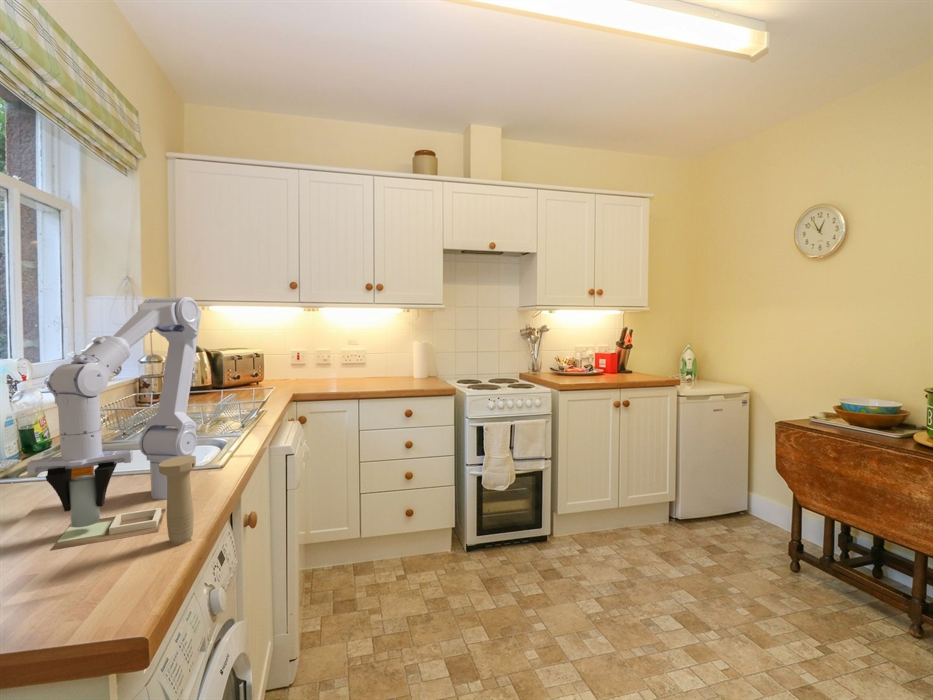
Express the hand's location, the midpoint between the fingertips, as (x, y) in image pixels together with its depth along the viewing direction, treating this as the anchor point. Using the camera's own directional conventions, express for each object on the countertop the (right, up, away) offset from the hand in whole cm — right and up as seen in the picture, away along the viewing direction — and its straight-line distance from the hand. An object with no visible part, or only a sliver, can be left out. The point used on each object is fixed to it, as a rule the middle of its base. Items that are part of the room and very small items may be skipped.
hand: (84, 507), depth 85 cm
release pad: (0, -5, 0) cm, 5 cm away
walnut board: (+4, -6, +2) cm, 7 cm away
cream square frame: (+7, -4, +4) cm, 9 cm away
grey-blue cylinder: (0, -3, 0) cm, 3 cm away
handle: (+19, -6, -3) cm, 20 cm away
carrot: (-12, -5, +14) cm, 19 cm away
